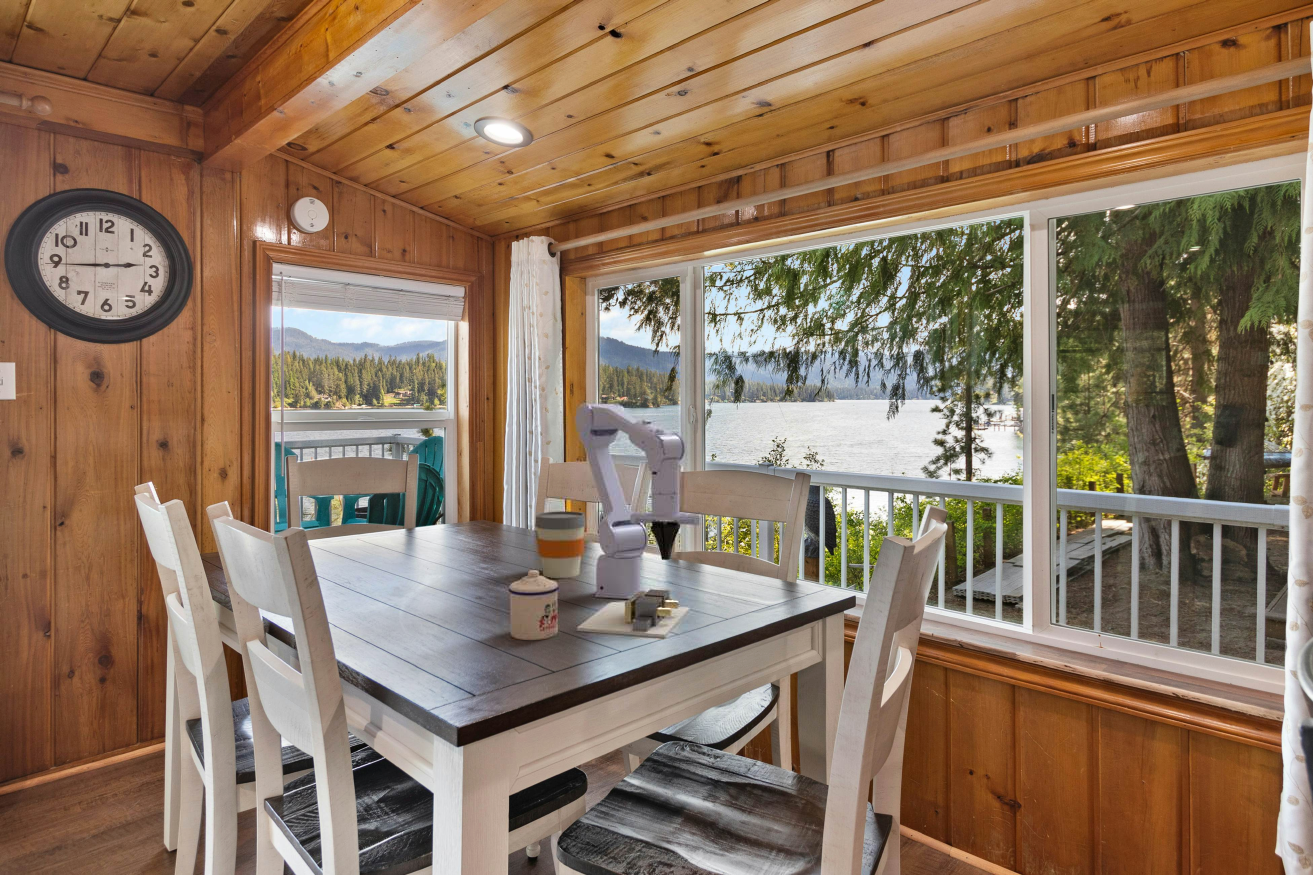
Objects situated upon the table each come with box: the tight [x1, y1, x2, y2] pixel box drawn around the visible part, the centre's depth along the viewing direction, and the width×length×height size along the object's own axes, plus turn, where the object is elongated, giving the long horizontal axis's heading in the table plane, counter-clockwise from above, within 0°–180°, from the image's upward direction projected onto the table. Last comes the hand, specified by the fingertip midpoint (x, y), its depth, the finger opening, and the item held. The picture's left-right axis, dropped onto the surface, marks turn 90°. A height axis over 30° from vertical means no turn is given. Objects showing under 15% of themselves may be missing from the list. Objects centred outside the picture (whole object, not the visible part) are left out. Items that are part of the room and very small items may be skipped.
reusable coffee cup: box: [534, 510, 587, 579], centre depth 187 cm, size 13×13×15 cm
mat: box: [576, 601, 690, 639], centre depth 146 cm, size 17×19×1 cm
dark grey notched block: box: [644, 588, 672, 618], centre depth 150 cm, size 4×8×4 cm, turn 164°
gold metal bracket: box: [624, 590, 680, 622], centre depth 145 cm, size 8×10×4 cm
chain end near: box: [633, 596, 662, 632], centre depth 141 cm, size 4×8×4 cm, turn 164°
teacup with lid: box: [508, 569, 560, 641], centre depth 139 cm, size 12×9×12 cm
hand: (666, 559), depth 154 cm, fingers closed
